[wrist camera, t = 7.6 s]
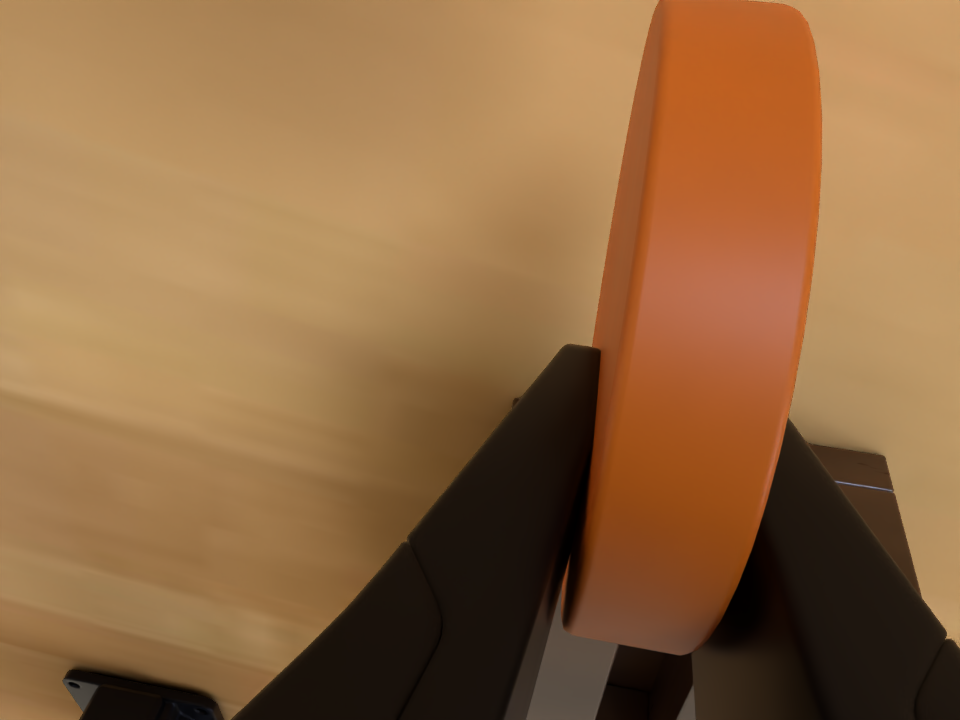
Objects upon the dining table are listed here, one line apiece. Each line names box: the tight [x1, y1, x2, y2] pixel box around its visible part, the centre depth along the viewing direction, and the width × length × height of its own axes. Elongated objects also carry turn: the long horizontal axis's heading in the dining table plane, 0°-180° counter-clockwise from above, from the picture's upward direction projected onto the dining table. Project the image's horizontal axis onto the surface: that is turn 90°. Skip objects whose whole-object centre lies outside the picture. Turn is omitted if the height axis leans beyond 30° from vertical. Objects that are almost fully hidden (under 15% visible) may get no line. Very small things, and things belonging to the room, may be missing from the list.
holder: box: [512, 398, 922, 720], centre depth 20 cm, size 13×8×4 cm, turn 178°
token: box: [561, 0, 822, 656], centre depth 9 cm, size 6×1×6 cm, turn 178°
